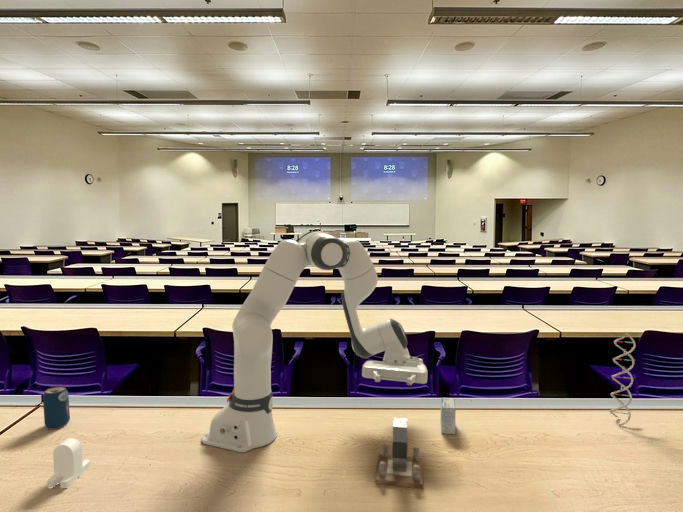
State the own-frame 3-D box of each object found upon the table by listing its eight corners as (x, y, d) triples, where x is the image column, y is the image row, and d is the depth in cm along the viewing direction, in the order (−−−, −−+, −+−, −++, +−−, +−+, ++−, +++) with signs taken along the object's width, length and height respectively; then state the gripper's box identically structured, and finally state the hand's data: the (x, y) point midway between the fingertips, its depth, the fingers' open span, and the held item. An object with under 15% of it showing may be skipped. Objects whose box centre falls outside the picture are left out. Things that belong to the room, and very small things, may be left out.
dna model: (608, 416, 148) (614, 330, 146) (631, 421, 145) (637, 334, 142) (607, 423, 143) (612, 335, 140) (630, 429, 139) (636, 338, 136)
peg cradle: (375, 483, 111) (375, 466, 110) (379, 457, 122) (379, 442, 122) (422, 488, 109) (423, 471, 108) (421, 461, 120) (422, 446, 120)
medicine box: (455, 435, 135) (456, 408, 135) (440, 433, 136) (441, 407, 135) (453, 423, 143) (454, 398, 142) (440, 421, 144) (440, 397, 143)
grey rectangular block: (391, 472, 113) (392, 426, 112) (392, 461, 118) (393, 417, 117) (406, 473, 113) (407, 427, 111) (406, 462, 118) (407, 418, 117)
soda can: (74, 423, 142) (72, 388, 141) (51, 432, 136) (48, 395, 135) (63, 417, 146) (61, 383, 145) (40, 426, 140) (38, 390, 139)
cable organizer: (46, 488, 108) (43, 451, 107) (72, 466, 118) (70, 431, 117) (67, 489, 108) (64, 451, 107) (91, 466, 118) (89, 431, 117)
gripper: (364, 353, 143) (359, 367, 129) (427, 359, 139) (428, 374, 126) (363, 371, 143) (358, 387, 130) (426, 378, 140) (427, 394, 126)
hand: (393, 381), depth 128 cm, fingers open, 8 cm apart
